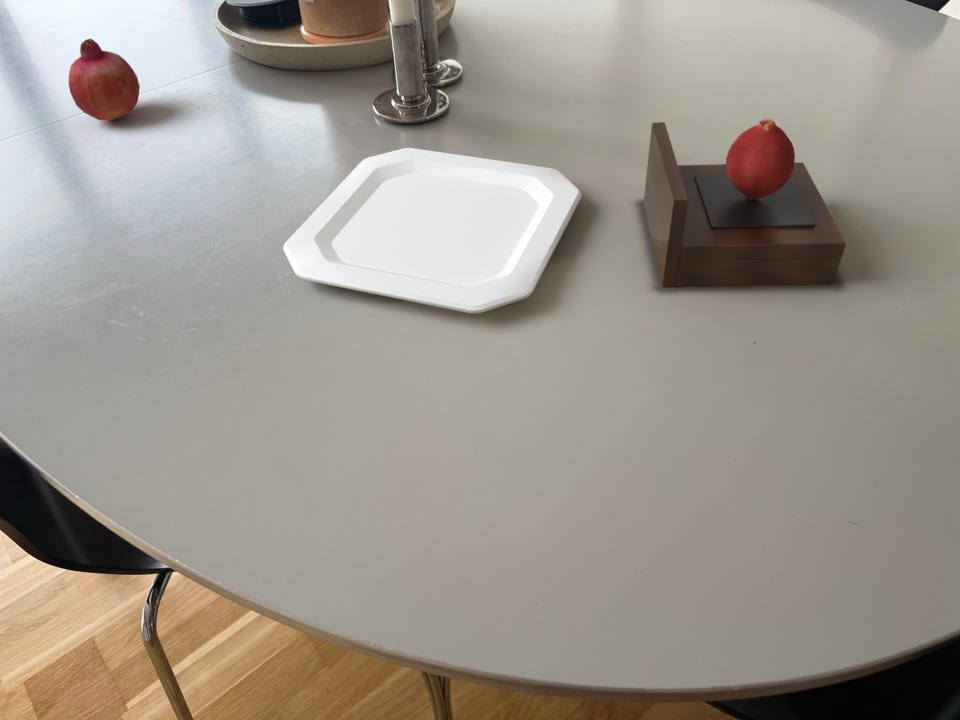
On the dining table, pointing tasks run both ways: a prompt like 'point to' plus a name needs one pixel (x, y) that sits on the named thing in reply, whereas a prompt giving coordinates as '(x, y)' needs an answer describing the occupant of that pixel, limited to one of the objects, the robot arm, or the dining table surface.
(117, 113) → the fruit
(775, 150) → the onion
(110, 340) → the dining table surface
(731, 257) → the wooden bookend stand
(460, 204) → the plate
